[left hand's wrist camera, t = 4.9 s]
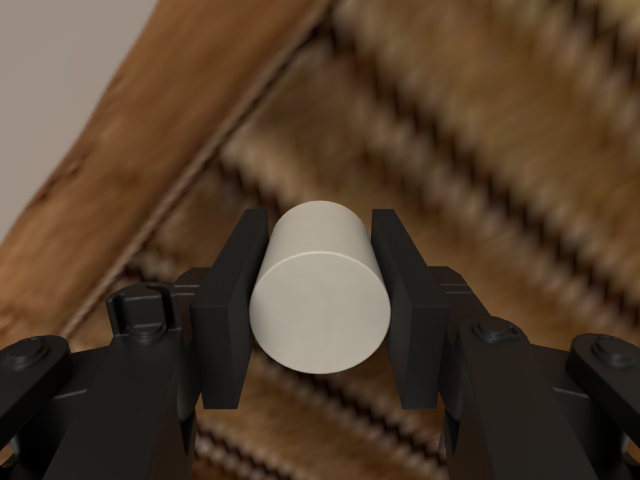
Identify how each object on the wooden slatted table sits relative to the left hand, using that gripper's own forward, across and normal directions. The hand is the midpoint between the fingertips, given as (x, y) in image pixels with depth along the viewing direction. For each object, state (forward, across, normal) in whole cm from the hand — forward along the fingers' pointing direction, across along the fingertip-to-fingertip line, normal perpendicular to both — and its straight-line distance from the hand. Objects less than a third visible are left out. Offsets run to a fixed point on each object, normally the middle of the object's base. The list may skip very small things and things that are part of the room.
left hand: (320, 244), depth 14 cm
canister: (0, 0, 0) cm, 0 cm away
